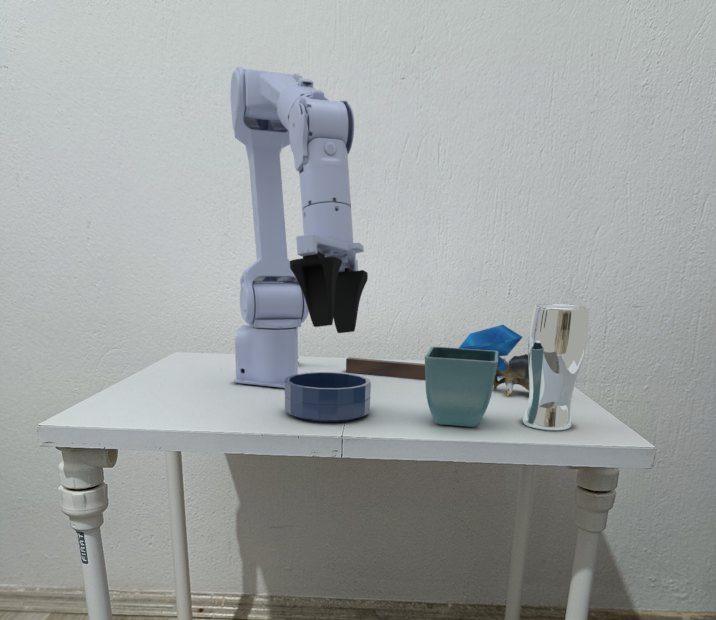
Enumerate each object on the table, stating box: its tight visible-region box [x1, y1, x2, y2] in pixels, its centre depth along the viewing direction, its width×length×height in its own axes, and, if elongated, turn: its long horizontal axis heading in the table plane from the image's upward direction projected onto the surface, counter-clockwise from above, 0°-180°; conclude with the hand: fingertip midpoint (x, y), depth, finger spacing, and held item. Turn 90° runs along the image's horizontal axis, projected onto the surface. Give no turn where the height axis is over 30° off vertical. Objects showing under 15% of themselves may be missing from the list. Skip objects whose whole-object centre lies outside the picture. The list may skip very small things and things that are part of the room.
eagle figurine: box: [492, 353, 529, 397], centre depth 103 cm, size 8×7×9 cm
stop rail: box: [345, 356, 426, 381], centre depth 115 cm, size 16×2×2 cm, turn 71°
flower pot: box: [424, 346, 498, 428], centre depth 85 cm, size 9×9×9 cm
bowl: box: [284, 371, 372, 423], centre depth 88 cm, size 11×11×4 cm
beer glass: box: [522, 303, 590, 431], centre depth 84 cm, size 7×7×15 cm
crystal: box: [458, 324, 523, 377], centre depth 118 cm, size 7×9×12 cm
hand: (334, 329), depth 78 cm, fingers open, 7 cm apart
